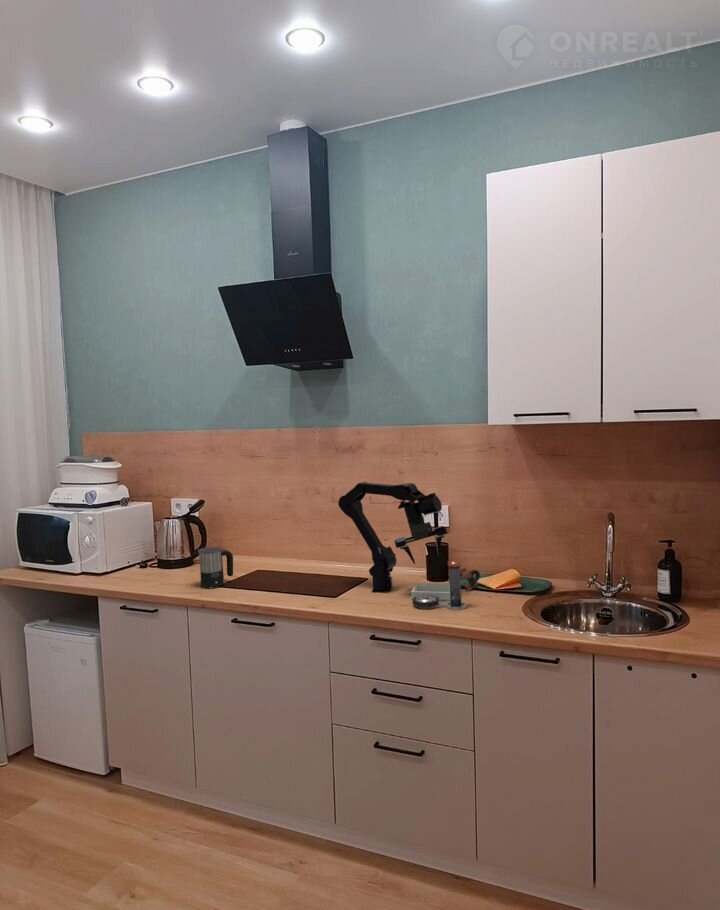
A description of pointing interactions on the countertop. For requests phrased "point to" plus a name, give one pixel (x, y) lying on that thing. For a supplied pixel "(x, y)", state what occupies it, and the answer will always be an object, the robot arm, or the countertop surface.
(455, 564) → the pin
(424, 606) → the tensioner
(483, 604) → the countertop surface
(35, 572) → the countertop surface
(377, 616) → the countertop surface
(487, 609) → the countertop surface
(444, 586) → the tray
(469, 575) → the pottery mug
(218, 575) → the milk frother
